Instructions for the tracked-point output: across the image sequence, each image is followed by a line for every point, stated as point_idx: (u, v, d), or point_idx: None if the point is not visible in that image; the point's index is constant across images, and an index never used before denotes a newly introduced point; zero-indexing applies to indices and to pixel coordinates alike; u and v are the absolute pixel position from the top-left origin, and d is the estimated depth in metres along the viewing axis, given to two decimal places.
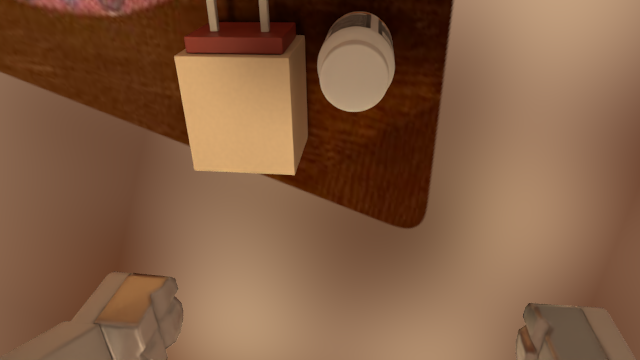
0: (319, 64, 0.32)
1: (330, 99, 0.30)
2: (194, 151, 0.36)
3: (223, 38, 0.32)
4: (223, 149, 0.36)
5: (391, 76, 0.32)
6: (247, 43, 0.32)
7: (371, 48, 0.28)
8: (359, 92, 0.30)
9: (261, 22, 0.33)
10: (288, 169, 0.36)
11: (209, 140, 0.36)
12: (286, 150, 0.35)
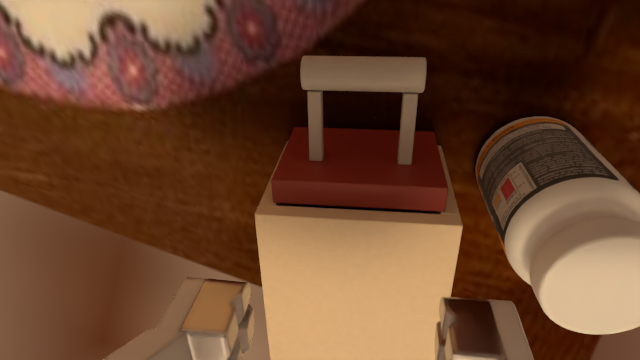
0: (516, 236, 0.18)
1: (553, 315, 0.16)
2: (273, 341, 0.23)
3: (342, 184, 0.18)
4: (321, 341, 0.22)
5: None
6: (383, 193, 0.18)
7: None
8: (614, 309, 0.16)
9: (401, 150, 0.19)
10: None
11: (300, 329, 0.22)
12: (429, 349, 0.21)
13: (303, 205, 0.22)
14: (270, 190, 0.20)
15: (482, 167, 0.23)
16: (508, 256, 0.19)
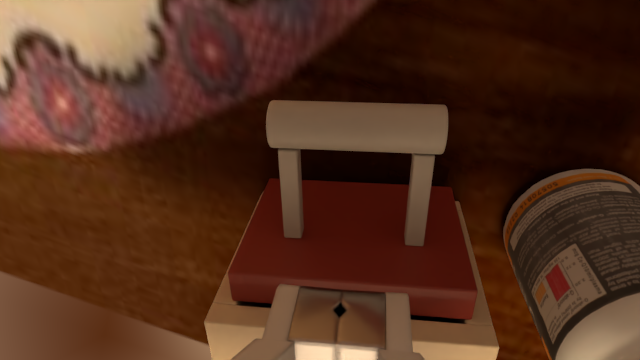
0: None
1: None
2: None
3: (327, 282, 0.13)
4: None
5: None
6: None
7: None
8: None
9: (409, 228, 0.14)
10: None
11: None
12: None
13: None
14: None
15: (514, 235, 0.17)
16: None
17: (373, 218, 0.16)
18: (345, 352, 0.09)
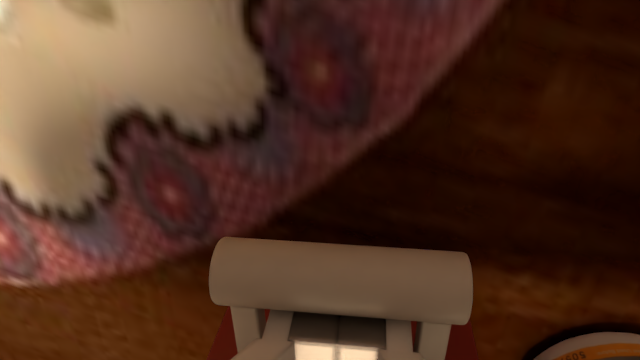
0: None
1: None
2: None
3: None
4: None
5: None
6: None
7: None
8: None
9: None
10: None
11: None
12: None
13: None
14: None
15: None
16: None
17: None
18: (345, 352, 0.09)
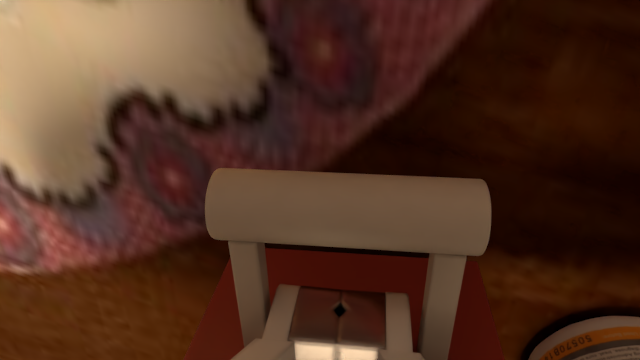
0: None
1: None
2: None
3: None
4: None
5: None
6: None
7: None
8: None
9: (425, 349, 0.10)
10: None
11: None
12: None
13: None
14: None
15: None
16: None
17: None
18: (345, 352, 0.09)
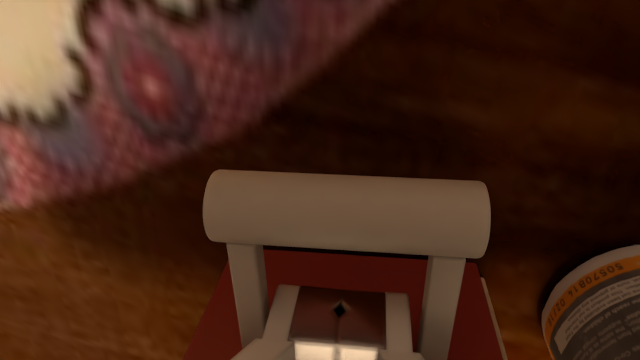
0: None
1: None
2: None
3: None
4: None
5: None
6: None
7: None
8: None
9: (425, 351, 0.09)
10: None
11: None
12: None
13: None
14: None
15: (561, 332, 0.13)
16: None
17: None
18: (345, 352, 0.09)
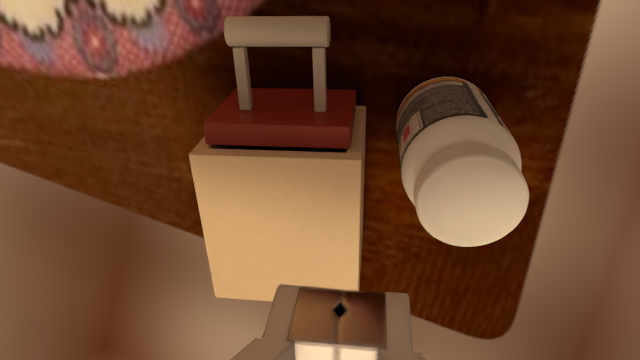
0: (407, 169, 0.21)
1: (430, 229, 0.20)
2: (215, 274, 0.26)
3: (262, 126, 0.22)
4: (256, 273, 0.25)
5: None
6: (297, 133, 0.22)
7: (505, 161, 0.18)
8: (478, 222, 0.19)
9: (315, 99, 0.23)
10: None
11: (237, 262, 0.25)
12: (348, 277, 0.25)
13: None
14: None
15: (397, 122, 0.26)
16: (405, 189, 0.22)
17: (299, 102, 0.24)
18: (345, 352, 0.09)
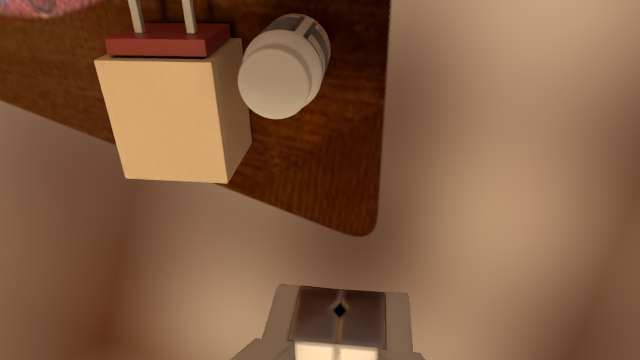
0: None
1: (251, 106, 0.29)
2: (123, 158, 0.35)
3: (144, 40, 0.31)
4: (152, 156, 0.35)
5: (318, 81, 0.30)
6: (169, 45, 0.31)
7: (288, 53, 0.27)
8: (280, 99, 0.28)
9: (186, 23, 0.32)
10: (220, 177, 0.35)
11: (137, 147, 0.34)
12: (217, 158, 0.34)
13: None
14: None
15: None
16: None
17: (180, 29, 0.34)
18: (345, 352, 0.09)
